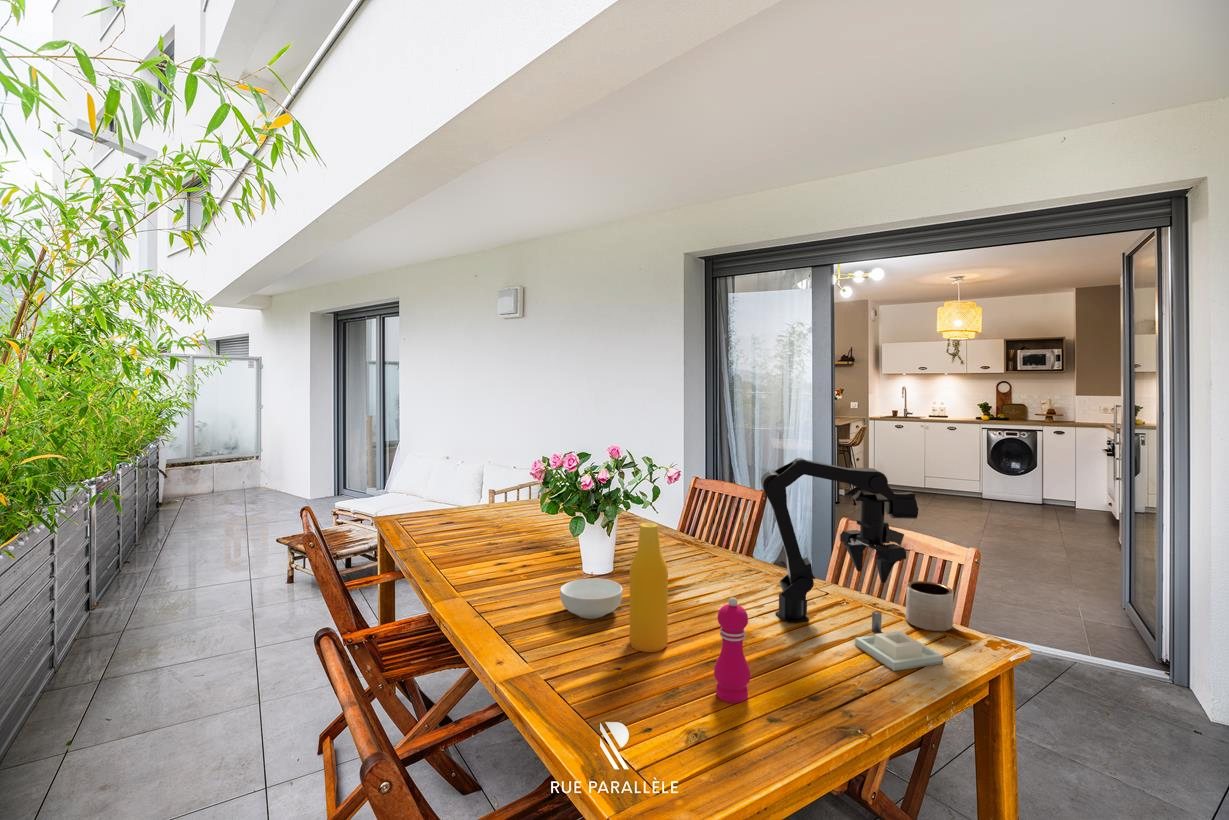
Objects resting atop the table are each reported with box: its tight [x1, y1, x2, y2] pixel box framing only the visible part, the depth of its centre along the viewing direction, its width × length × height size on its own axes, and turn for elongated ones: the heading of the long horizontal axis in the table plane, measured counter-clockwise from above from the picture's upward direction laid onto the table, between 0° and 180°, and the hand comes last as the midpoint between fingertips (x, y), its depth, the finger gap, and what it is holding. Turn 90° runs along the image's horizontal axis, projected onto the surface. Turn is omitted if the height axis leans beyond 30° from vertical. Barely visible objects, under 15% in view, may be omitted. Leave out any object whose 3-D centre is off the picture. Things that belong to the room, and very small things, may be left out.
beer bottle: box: [628, 522, 669, 653], centre depth 141 cm, size 9×9×29 cm
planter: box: [905, 580, 954, 633], centre depth 153 cm, size 11×11×10 cm
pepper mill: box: [713, 596, 751, 704], centre depth 119 cm, size 7×7×20 cm
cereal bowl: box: [559, 577, 624, 620], centre depth 161 cm, size 17×17×7 cm
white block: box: [874, 630, 923, 660], centre depth 137 cm, size 7×7×3 cm
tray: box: [854, 634, 944, 672], centre depth 137 cm, size 13×13×2 cm
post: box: [871, 611, 883, 634], centre depth 149 cm, size 2×2×4 cm
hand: (870, 576), depth 154 cm, fingers open, 9 cm apart
